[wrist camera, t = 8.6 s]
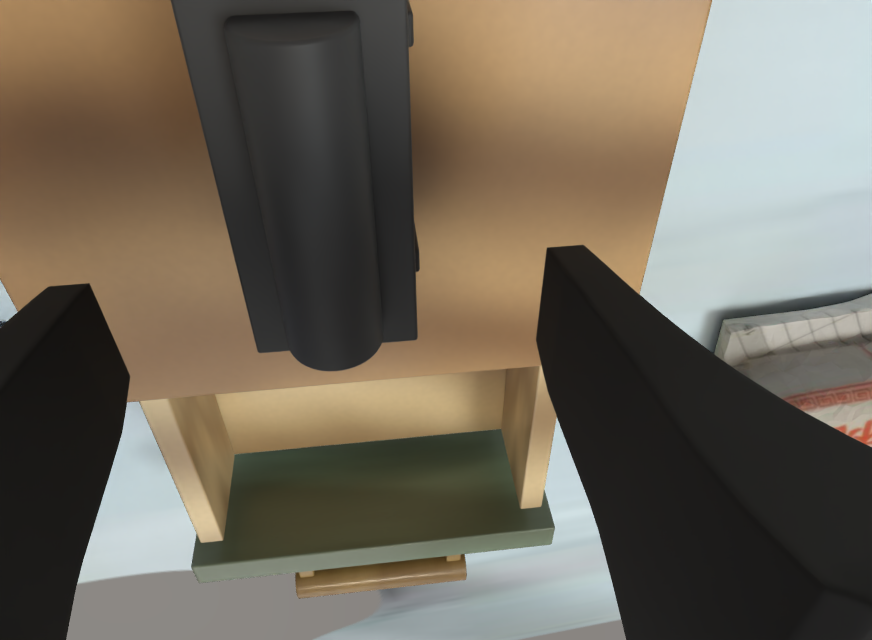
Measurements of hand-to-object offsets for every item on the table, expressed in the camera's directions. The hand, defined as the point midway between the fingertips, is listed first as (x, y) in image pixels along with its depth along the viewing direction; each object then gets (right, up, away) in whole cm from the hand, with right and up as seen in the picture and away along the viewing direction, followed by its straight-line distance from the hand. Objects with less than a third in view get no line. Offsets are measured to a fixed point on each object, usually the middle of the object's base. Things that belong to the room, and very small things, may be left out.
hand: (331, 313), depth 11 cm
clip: (0, +4, +2) cm, 4 cm away
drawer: (-1, -3, +15) cm, 15 cm away
